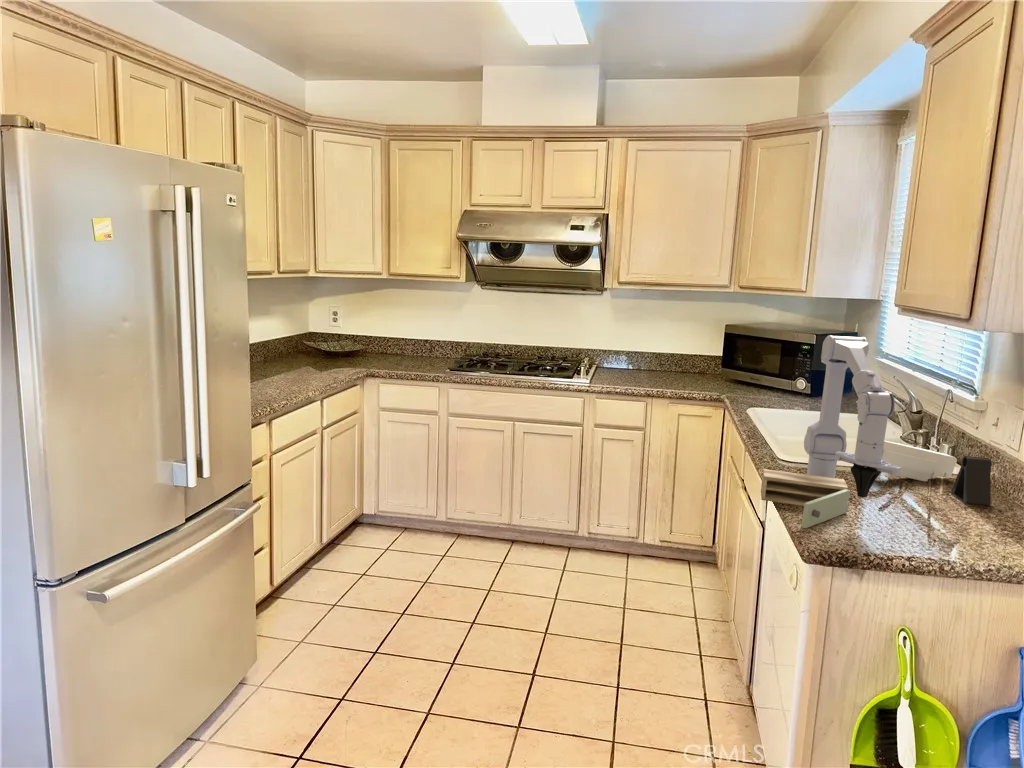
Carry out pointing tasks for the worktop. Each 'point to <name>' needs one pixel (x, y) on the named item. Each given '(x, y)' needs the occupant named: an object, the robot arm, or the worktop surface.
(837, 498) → the cabinet door
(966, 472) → the door stopper
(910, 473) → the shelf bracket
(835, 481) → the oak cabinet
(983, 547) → the worktop surface
